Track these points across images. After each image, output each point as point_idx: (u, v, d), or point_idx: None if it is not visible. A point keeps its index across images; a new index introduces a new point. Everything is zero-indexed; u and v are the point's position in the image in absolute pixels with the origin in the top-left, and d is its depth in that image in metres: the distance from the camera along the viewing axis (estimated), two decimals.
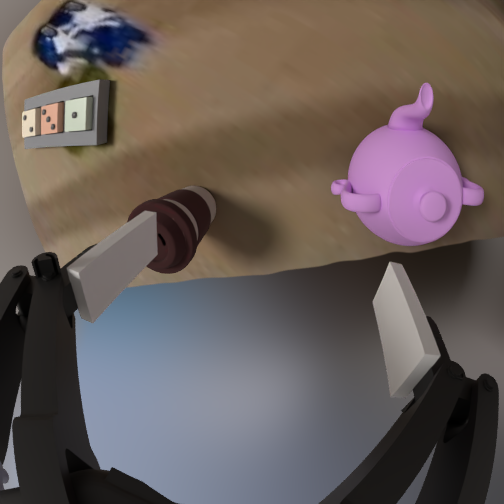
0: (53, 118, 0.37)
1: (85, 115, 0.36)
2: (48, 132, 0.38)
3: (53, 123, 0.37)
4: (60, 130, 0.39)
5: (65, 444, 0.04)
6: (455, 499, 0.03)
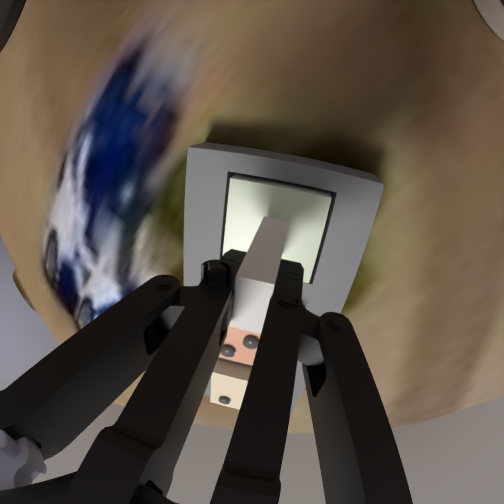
0: None
1: (284, 190, 0.16)
2: None
3: None
4: None
5: (150, 476, 0.04)
6: (355, 461, 0.05)
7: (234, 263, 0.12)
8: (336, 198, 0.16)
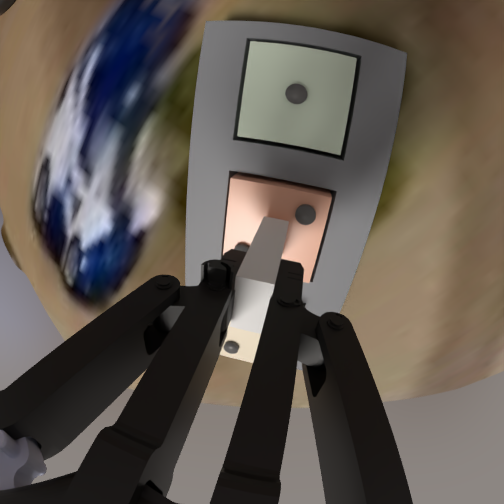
0: (276, 209, 0.16)
1: (308, 50, 0.12)
2: (315, 244, 0.17)
3: (294, 212, 0.16)
4: (326, 192, 0.16)
5: (150, 476, 0.04)
6: (354, 461, 0.05)
7: (234, 263, 0.12)
8: (361, 61, 0.12)
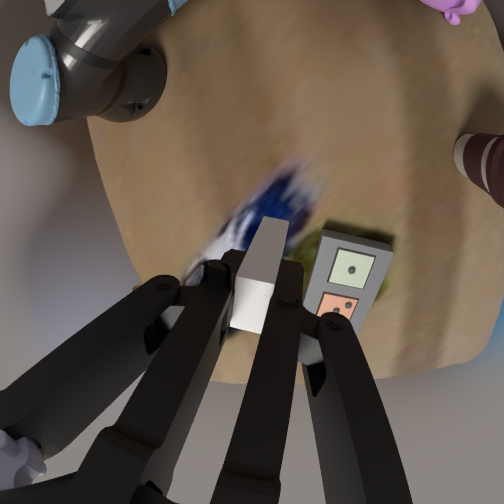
0: (338, 303, 0.45)
1: (358, 255, 0.40)
2: (350, 313, 0.46)
3: (344, 304, 0.45)
4: None
5: (150, 476, 0.04)
6: (354, 461, 0.05)
7: (234, 263, 0.12)
8: (376, 257, 0.40)
